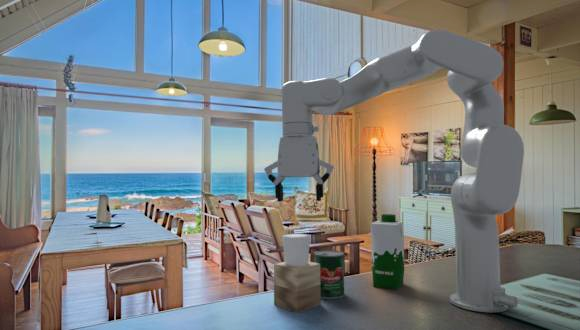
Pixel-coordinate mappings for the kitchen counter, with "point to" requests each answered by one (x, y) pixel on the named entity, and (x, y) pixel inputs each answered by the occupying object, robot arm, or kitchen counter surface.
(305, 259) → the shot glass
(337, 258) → the canned tomato
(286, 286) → the block upper
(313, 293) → the block lower
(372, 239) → the milk carton
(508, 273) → the kitchen counter surface
